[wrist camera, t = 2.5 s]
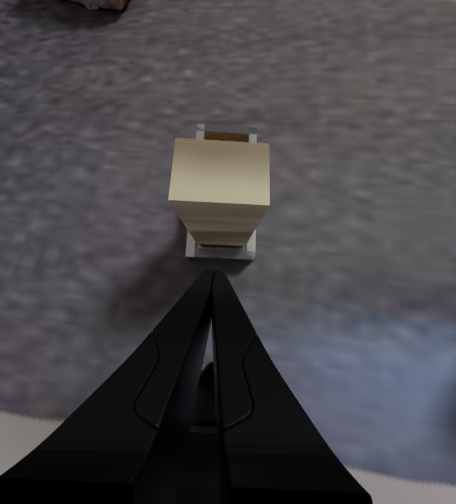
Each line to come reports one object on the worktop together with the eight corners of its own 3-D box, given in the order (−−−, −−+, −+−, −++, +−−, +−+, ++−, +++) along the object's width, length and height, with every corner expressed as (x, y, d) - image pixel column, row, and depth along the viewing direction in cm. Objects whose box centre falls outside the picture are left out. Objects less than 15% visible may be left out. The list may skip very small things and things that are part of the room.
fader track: (251, 262, 21) (255, 259, 19) (189, 259, 21) (185, 256, 19) (253, 142, 25) (256, 128, 23) (199, 139, 25) (197, 124, 22)
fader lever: (244, 248, 20) (269, 205, 9) (197, 245, 20) (168, 200, 9) (244, 217, 21) (269, 143, 10) (200, 214, 21) (175, 137, 10)
